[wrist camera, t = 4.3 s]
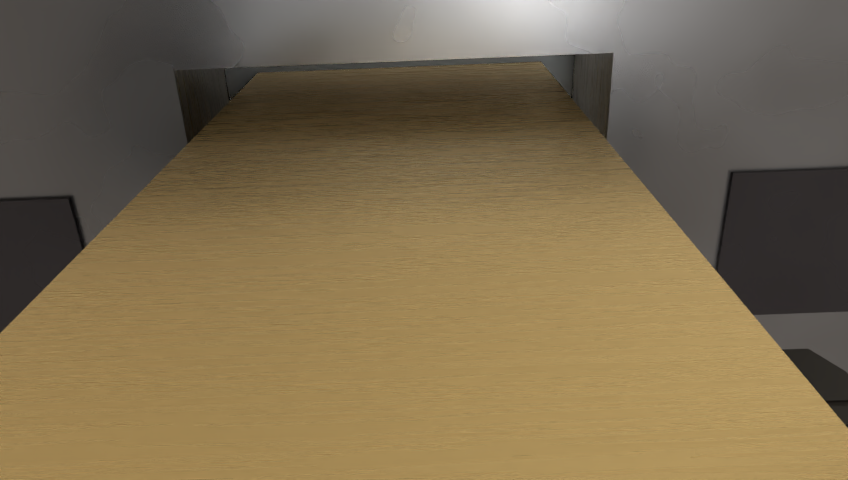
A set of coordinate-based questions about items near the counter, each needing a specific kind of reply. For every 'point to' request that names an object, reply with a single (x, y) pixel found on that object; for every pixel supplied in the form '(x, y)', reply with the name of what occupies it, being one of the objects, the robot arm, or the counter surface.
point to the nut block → (401, 307)
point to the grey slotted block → (459, 39)
